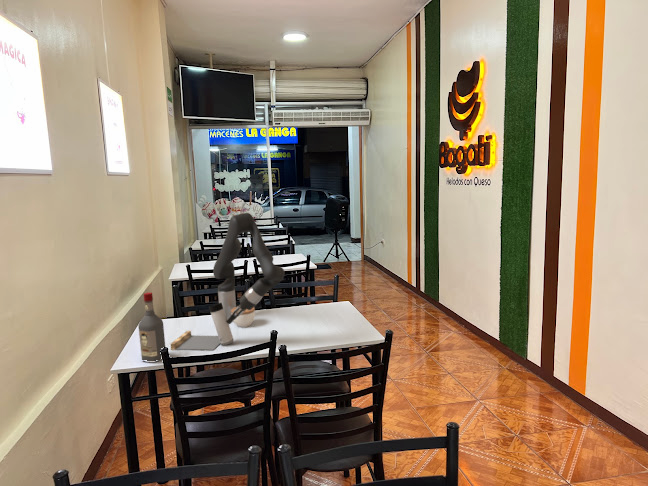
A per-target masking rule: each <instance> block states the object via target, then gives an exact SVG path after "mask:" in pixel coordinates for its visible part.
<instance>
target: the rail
mask: <svg viewBox="0 0 648 486" xmlns="http://www.w3.org/2000/svg"><path fill="white" fill-rule="evenodd" d="M191 335H192V330H186V331H185V332H184V333H182V334H181V335H180V336H179V337H177V338H176V339H175V340H173V341H172V342H171V343H170V351H176V350H175V349H176V348H177V347H178V346H179V345H180V344H182V343H183V342H184V341H185V340H186V339H188V338H189V337H190V336H191Z"/></svg>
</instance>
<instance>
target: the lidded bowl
mask: <svg viewBox="0 0 648 486" xmlns="http://www.w3.org/2000/svg"><path fill="white" fill-rule="evenodd" d="M237 307H238V306H236V307H235V308H233V309H232V310H231V313H232V314H233V312H234V311H235V309H236V308H237ZM255 310H256V308H255V306H254V307H253V308H252V309H251V310H247V309H246V310H245V311H244V312H243V313H242V314H241V315H240V316H239V317H237V318H236V319H235V320H233V322H232V323H233V324H234V325H236V327H238V328H246V327H250V326H251V324H253V322H254V320H255V315H256V314H255V313H256V312H255Z"/></svg>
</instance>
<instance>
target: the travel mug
mask: <svg viewBox="0 0 648 486" xmlns="http://www.w3.org/2000/svg"><path fill="white" fill-rule="evenodd" d="M208 309H209V311H210V315H211V318H212V321H213V324H214V327H215V330H216V333H217V336H218V337H219V340H220V343H221V344H220V345H221V346H226V345H229V344H231V343H234V340H235V339H234V337H233V333H232V331H231V327H230V324H228V323H227V318H226V315H225V311H224V308H223V306H222V303H219V302H218V303H215V304H213V305H210V306H208Z"/></svg>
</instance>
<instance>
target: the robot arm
mask: <svg viewBox="0 0 648 486" xmlns="http://www.w3.org/2000/svg"><path fill="white" fill-rule="evenodd" d="M227 227H228V228H227V232H226V236H225V238H224V242H223V243H222V247H221V250H220V253H219V255H218V257H217V260H216V261H215V263H214V265H213V269H212V272H213V273H212V274H213V276H214V278H215V279H216V280H224V279H225V280H224V281H223V282H222V283H220V284H219V285H218V286H217V297H218V303H222V306H223V308H224V311H225V315H226V318H227V323H228V324H229V325H231V324H232V323H234V322H233V320H235V319H236V318H237V317H239V316H240V315H241V314H242V313H243V312H244V311H245V310H246V309H247V310H251V309H252V308H253V307H254V308H255V307H256V306H257V304H258V303H259V302H260V301H261V300H262V298H263V297H264V296H265V295H266V294H267V293H268V292H269V291H270V290H271V289H273V288H274V287H275V286H277V285H278V284H280V283H281V282H282V280H283V279H284V278H285V273H286V272H285V269H284V268H283V267H281V266H279V265H275V264H274V256H273V255H272V252H271V251H270V249H269V248H268V247H267V245H266V243H265V241H264V240H263V237H262V235H261V232H260V230H259V228H258V225H257V223H256V221H255V219H254V217H253V215H252V214H251V213H249V212H244V213H239V214H235V215H233V216H231V217H230V219H229V223H228V226H227ZM248 232H249V233H250V234H251V236H252V245H251V247H252V253H253V255H254V257H255V259H256V261H258V264H259V266H260V269H261V272H262V275H263V277H262V278H259V279H258V280H256V281H255V283H254V284H253V285H252V286H251V287H249V288H248V289H247V290H246V291H245V293H243V295H242V296H241V297H240V298H239V303H240V304H238V305H237V304H236V303H237V302H236V291H235V290H236V289H235V287H236V286H235V285H236V282H235V281H236V280H235V277H236V276H235V275H236V274H235V273H236V272H235V266H234V262H233V261H234V260H235V259H237V258H238V256H239V254H240V252H241V249H242V243H241V241H240V239H239V238H238V236H239V235H240V234H244V233H248ZM235 307H237V308H236V309H235V311H234V312H233V314H232V313H231V310H232V309H233V308H235Z"/></svg>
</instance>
